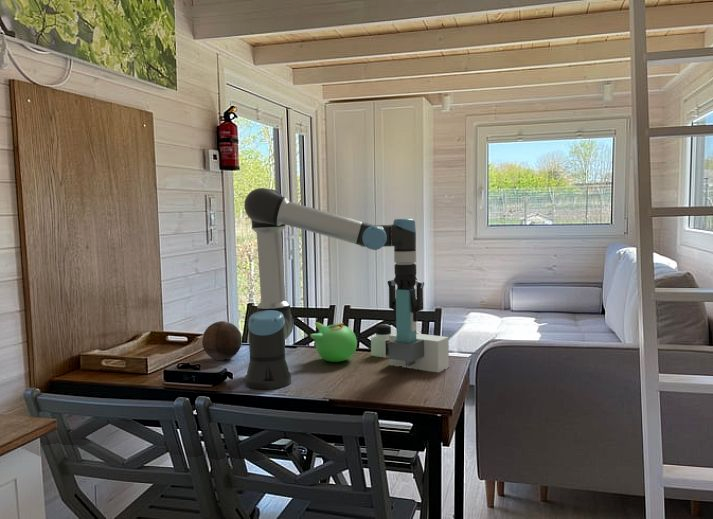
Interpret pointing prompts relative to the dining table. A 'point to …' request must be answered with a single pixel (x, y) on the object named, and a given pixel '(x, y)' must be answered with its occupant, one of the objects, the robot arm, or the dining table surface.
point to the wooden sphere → (221, 340)
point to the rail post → (404, 317)
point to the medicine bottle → (381, 341)
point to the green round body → (334, 342)
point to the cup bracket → (406, 351)
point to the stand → (428, 354)
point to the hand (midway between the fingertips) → (406, 329)
